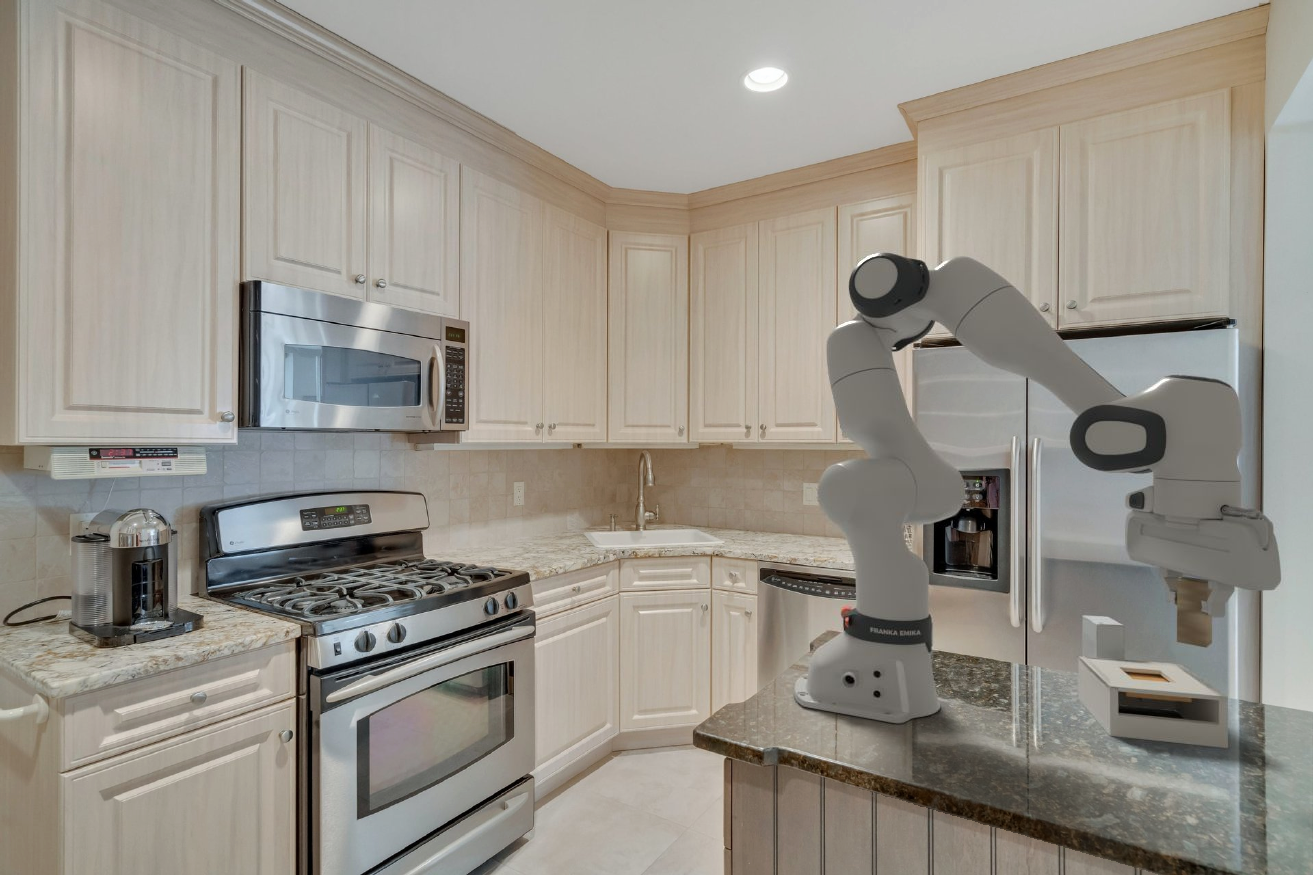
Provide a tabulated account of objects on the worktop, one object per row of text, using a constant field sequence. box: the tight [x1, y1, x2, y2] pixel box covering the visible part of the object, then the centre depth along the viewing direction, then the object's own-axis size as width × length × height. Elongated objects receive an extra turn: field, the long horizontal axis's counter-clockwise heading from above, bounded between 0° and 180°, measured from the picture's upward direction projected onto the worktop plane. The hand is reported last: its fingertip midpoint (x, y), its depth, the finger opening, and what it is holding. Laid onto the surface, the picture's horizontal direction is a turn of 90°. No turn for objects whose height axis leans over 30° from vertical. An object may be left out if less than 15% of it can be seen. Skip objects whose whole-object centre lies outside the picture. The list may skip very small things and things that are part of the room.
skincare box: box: [1081, 615, 1125, 660], centre depth 113 cm, size 6×4×12 cm
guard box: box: [1077, 655, 1229, 749], centre depth 101 cm, size 14×14×7 cm
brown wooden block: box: [1176, 576, 1213, 648], centre depth 87 cm, size 3×3×8 cm
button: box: [1122, 672, 1191, 703], centre depth 101 cm, size 8×8×3 cm
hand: (1194, 610), depth 87 cm, fingers closed on brown wooden block, 4 cm apart
